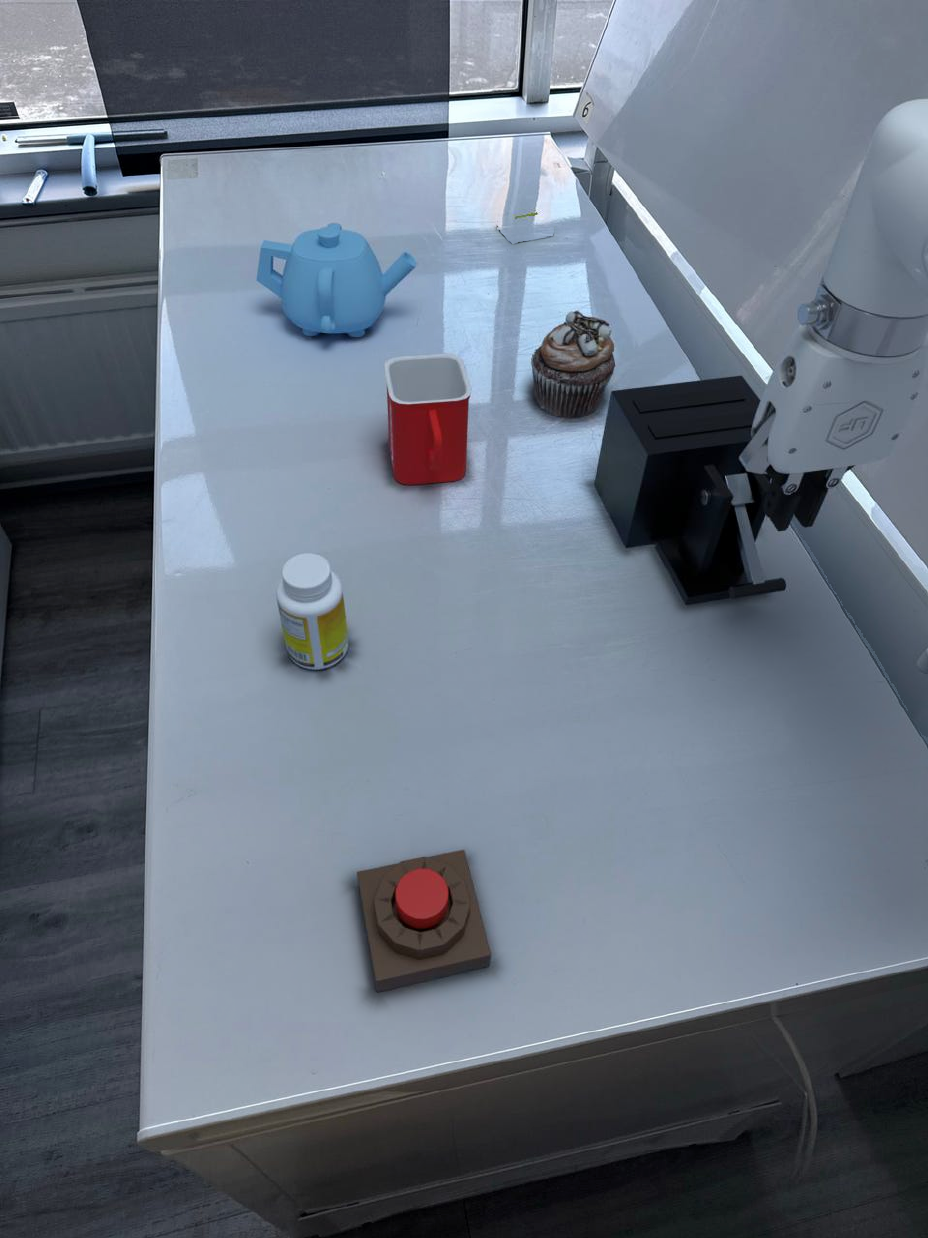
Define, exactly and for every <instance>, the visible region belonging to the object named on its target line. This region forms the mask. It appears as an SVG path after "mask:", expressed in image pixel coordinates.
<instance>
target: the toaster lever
mask: <svg viewBox="0 0 928 1238" xmlns="http://www.w3.org/2000/svg"><path fill="white" fill-rule="evenodd" d="M722 479H723V480H724V482H725V483H726V485H727V487H728V488H729V490H730V491H731V493H732V494H733V496H734V497H733V500H732V503H731V506H730V509H729V511H728V512H730V513H731V517H732V521H733V525H734V529H735V533H736V537H737V541H738V545H739V549H740V553H741V557H742V561H743V566H744V570H745V574H746V578H747V582H748V583H746V584H739V585H733V586H730V588H729V595H730V597H729V598H731V600H736V599H742V598H748V597H756V596H761V595H767V594H772V593H779V592H785V591H786V589H787V581H786V580H785V578H784V577H776V578H771V579H764V574H763V570H762V567H761V563H760V558H759V554H758V550H757V547H756V541H755V542H754V538H753V534H752V530H751V526H750V522H749V518H748V514H747V510H746V507H747V506H749V505H750V504H752V503H753V502H754V499H753V495H752V491H751V487H750V483H749V479H748V475H747V473H742V474H734V475H727V476H724V477H723V478H722Z"/></svg>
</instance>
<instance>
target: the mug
mask: <svg viewBox="0 0 928 1238" xmlns="http://www.w3.org/2000/svg"><path fill="white" fill-rule="evenodd" d="M383 364H384V365H383V370H384V376H385V380H386V402H387V425H388V426H387V427H388V450H389V455H390V460H391V461H390V462H391V467H392V472H393V477H394V479H395V480H396V482H398V483H400V484H402V485H407V486H415V485H426V484H439V483H449V482H456V481H460V480H462V479H463V478H464V477H465V476H466V472H467V451H468V429H469V428H468V427H469V426H468V425H469V404H470V398H471V395H472V386H471V383H470V379H469V376H468V373H467V370H466V369H467V368H466V365H465V362H464V360H463V359H462V358H461V357H460V356H459V355H456V354H454V353H434V354H417V355H403V356H401V355H400V356H394V357H390V358H388V359H387V360H386V361H384V363H383Z"/></svg>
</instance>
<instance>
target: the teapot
mask: <svg viewBox="0 0 928 1238" xmlns="http://www.w3.org/2000/svg"><path fill="white" fill-rule="evenodd" d="M342 227H343V226H342V225H341V223H339V222H331V223H329V224H327V226H323V227H320V228H317V229H311V230H306V231H303V232H301V233H300V234H299V235H297V236H296V238H295V239H294V241H293V243H292V244H290V243H286V242H278V241H272V240H266V239H263V241H262V243H261V246H260V251H259V259H258V266H257V273H256V282H258V283H259V284H260V285H262V286H264V287H265V288H266V289H268V290H269V291H270V292H272V294H274V295H275V296H277V297H278V298H280V300H281V308H282V311H283V312H284V314H285V316H286V317H287V319H289V320H290V321H291V322H292V323H293V324H294V325H295V326H297V327H298V328H301V329H302V330H301V332H302V334H303V335H305V336H307V337H314V336H315V337H316V336H318V335H320V333H324V334H345V333H346V334H347V335H348V336H349V337H352V338H360V337H363V336H364V335H365V334H366V329H368V328H370V327H371V326H372V325H374V324H375V322H376V321H377V320H378V318H379V317H380V315H381V313H382V311H383V309H384V307H385V303H386V296H387V295H388V294H390V293H391V291H392V290H393V289H395V288H396V287H397V286H398V285H399V284H400V283H401V282H402V281H403V280H404V279H405V278H406V277H407V276H408V275H409V274H411V272H412V271H413V270H414V269H416V268H417V266H418V263H417V260H416V258H415V257H414V256H413V255H412V254H410V252H407V251H404V252H403V253H401V255H400V256H399V257H398V258H397V259H396V260H395V261H394V262H393V263H392V264H391V265H390V266H389V268H387V270H385V272H384V273H383V271H382V269H381V266H380V263H379V260H378V258H377V256H376V254H375V253H374V250H373V249H372V247H371V245H370V243H369V242H368V241H367V239H366V238H365V236H364V235H362V234H361V233H359V232H357V231H353V230H349V229H348V230H347V229H342ZM274 258H276V259H280V260H285V264H284V267H283V271H282V274H281V273H279V272H278V271H276V270H275V269H274Z"/></svg>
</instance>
